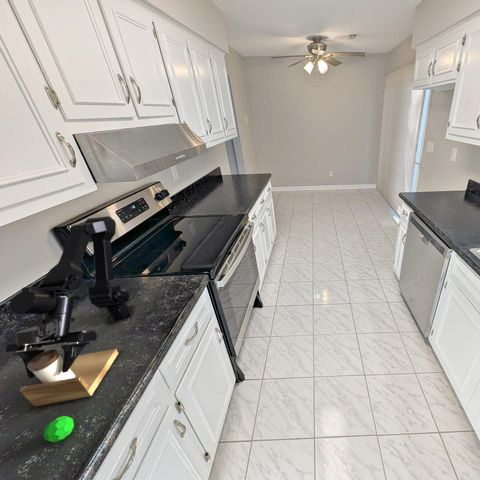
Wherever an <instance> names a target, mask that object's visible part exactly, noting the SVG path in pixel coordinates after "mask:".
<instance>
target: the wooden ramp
mask: <svg viewBox="0 0 480 480" xmlns="http://www.w3.org/2000/svg"><path fill="white" fill-rule="evenodd" d="M118 355H119V351H118V350H117V348H114V349H108V350H101V351H96V352H90V353H83V354H79V355H78V356H77V358H76V359H75V361H74V362H73V364H72V366H71V367H70V369H71V370H72V372H73V373H74V374H75V378H70V379H64V380H58V381H53V382H47V383H42V382H40V383H36V384H31V385H25V386H21V387H20V388H19V389H18V392H19V393H21V394H22V396H23V397H25V399H27V401H29V403H31V405H32V406H33V407H39V406H45V405H50V404H55V403H60V402H65V401H71V400H77V399H82V398H87V397H92V396H93V394H94V393H95V391H96V389H97V388H98V386H99V385H100V383H101V381H102V380H103V379H104V377H105V375H106V373H108V371H109V369H110V368H111V366H112V364H113V363H114V361H115V360H116V358H117V356H118Z"/></svg>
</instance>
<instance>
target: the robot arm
mask: <svg viewBox="0 0 480 480" xmlns="http://www.w3.org/2000/svg"><path fill="white" fill-rule="evenodd" d="M116 227H117V222H116V220H115V219H113V218H112V217H111V216H109V215H106V216H105V215H103V216H97V217H95V216H94V217H88V218H86V220H85V221H82V222H79V223H76V224H72V225H71V226H70V228H69V236H68V238H67V240H66V243H65V246H64V248H63V251H62V253H61V256H60V257H59V261H58V263H57V264H55V265H54V266H53V267H52V268H50V269H49V270H48V272H47V274H46V275H45V277H44V279H43V281H42V282H41V283H40V284H39V285H38V286H37V287H36V286H26V287H25V286H23V287H21V292H18V293H17V294H16V295H15V296H14V297H13V298H12V300H10V301H9V310H10V311H11V312H12V313H13V314H15V315H35V316H36V315H43V316H42V319H38V320H37V321H36V324H35V325H34V326H31V327H28V328H26V329H22V330H20V331H17V332H15V334H14V335H15V339H16V340H11V341H10V342H9V343H7V344H6V346H5V347H6V348H5V353H12V355H13V356H17V357H18V358H20V359H21V360H22V362H23V365H24V369H25V371H26V373H27V377H28V379H33V378H35V377H36V376H35V375H34V373H33V372H32V371H30V370H29V369H28V368H27V364H28V363H29V361H30V360H31V359H33V358H34V357H35V356H37V355H38V354H40V353H42V352H44V351H46V350H45V349H43V348H42V347H44V346H50V345H51V346H52V345H58V344H62V345H61V346H60V347H61V349H62V351H63V358H62V359H63V367H62V372H63V373H65V372H68V370H69V369H70V367H71V366H72V364H73V362H74V361H75V359H76V358H77V356H78V355H81V352H82V351H83V350H84V349H85V347H86V346H88V345H90V342H92V341H97V338H98V333H97V332H96V330H92V329H91V330H77V331H70V328H71V322H75V321H76V320H75V319H76V318H75V317H72V315H73V308H74V301H78V300H81V297H80V296H79V295H78V294H77V293H76V292H75V290H77V289H79V288H80V287H81V285H82V282H83V277H84V271H83V269H82V267H81V266H82V263H83V259H84V257H85V254H86V251H87V248H88V246H89V242H90V240H91V241H92V250H93V251H92V252H93V261H94V274H95V282H94V283H93V285H92V286H89V287H88V300H89V301H90V303H91V304H92V305H93V306H94V307H97V308H98V309H101V308H105V309H106V310H107V312H108V313H109V315H110V319H109V323H110V324H113V323H115V322H119V321H121V320H124V319H128V318H130V317H131V316H132V310H133V305H130V306H128V304H127V302H129V299H130V293H129V291H125V290H121V285H120V284H119V283H118V282H117V281H116V280H115V277H114V266H113V265H114V264H113V253H112V243H111V242H112V239H113V237H114V236H115V235H116V229H117V228H116ZM65 343H67V344H65ZM41 348H42V349H41Z"/></svg>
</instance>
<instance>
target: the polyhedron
mask: <svg viewBox="0 0 480 480" xmlns="http://www.w3.org/2000/svg"><path fill="white" fill-rule="evenodd" d="M74 428H75V422H74V419H73V418H71V417H69V416H67V415H62V416H59V417H57V418H56V419H55V418H54V420H53V421H51V422H50V423H49V424H47V425H46V426H45V429H44V431H43V438H44V440H45V441H48V442H50V443H57V442H61V441H62V440H64V439H66V438H67V436H69V435H70V434H71V433H72V431H73V429H74Z"/></svg>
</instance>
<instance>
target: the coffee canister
mask: <svg viewBox="0 0 480 480" xmlns="http://www.w3.org/2000/svg"><path fill="white" fill-rule="evenodd" d="M63 359H64V358H63V357H62V356H61V355H60V353H59V351H58V350H57V349H47V350H44V352H42V353H40V354H38V355H37V356H35V357H34V358H33V359H31V360H30V361H29V363H28V364H27V368H28V369H29V370H30V371H32V372H33V373H34V375H35V377H36V378H37V379H38V381H40V383H47V382H53V381H58V380H64V379H70V378H75V374H74V373H73V372H72V370H71V369H69V370H68V372H65V373H63V372H62V367H63Z"/></svg>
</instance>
